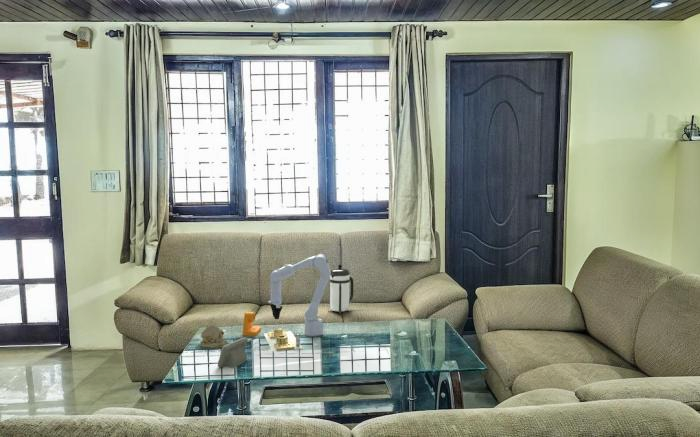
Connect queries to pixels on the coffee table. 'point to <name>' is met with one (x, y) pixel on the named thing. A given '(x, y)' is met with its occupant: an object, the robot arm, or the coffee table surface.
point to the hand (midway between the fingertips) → (276, 317)
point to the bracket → (250, 325)
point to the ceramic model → (213, 337)
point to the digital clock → (233, 353)
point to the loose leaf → (276, 333)
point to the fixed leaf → (283, 343)
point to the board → (290, 339)
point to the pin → (297, 339)
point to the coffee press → (340, 289)
